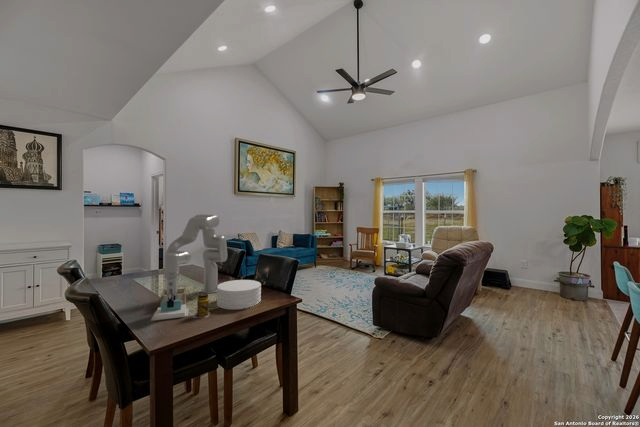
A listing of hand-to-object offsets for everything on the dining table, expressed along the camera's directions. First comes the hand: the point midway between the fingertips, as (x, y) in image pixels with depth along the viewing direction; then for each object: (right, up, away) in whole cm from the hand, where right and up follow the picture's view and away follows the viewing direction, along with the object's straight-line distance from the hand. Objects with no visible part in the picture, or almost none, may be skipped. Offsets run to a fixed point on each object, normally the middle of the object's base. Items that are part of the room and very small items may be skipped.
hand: (171, 304), depth 157 cm
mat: (0, -6, 0) cm, 6 cm away
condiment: (+17, -6, 0) cm, 18 cm away
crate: (-6, -6, +14) cm, 16 cm away
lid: (0, -5, 0) cm, 5 cm away
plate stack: (+32, -7, +24) cm, 41 cm away
